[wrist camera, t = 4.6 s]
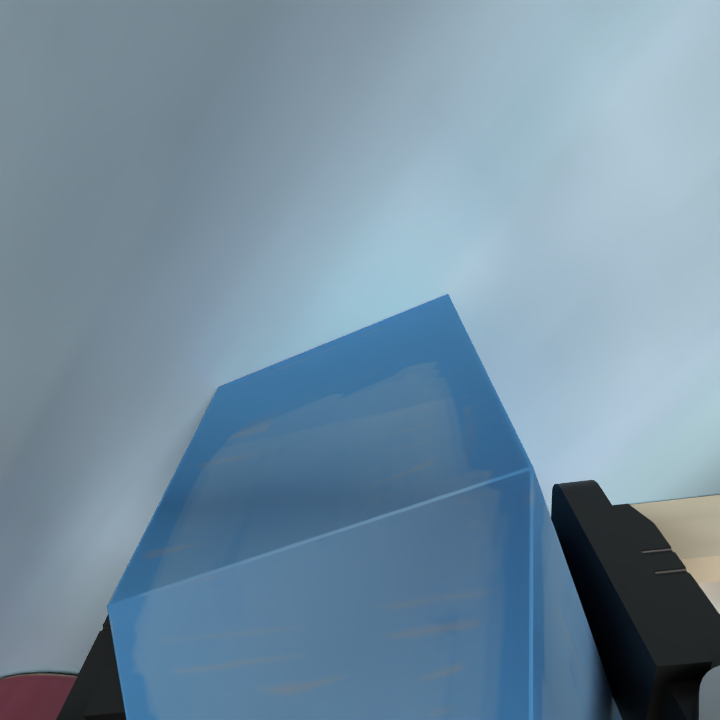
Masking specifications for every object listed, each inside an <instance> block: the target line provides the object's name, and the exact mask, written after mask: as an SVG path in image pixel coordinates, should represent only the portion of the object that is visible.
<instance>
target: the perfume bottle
mask: <svg viewBox="0 0 720 720" xmlns="http://www.w3.org/2000/svg"><path fill="white" fill-rule="evenodd" d="M107 608H108V614H109V620H110V626H111V632H112V637H113V643H114V649H115V655H116V661H117V667H118V673H119V678H120V684H121V690H122V696H123V702H124V708H125V713H126V719H127V720H622V719H621V716H620V713H619V711H618V708H617V706H616V704H615V701H614V699H613V697H612V692H611V687H610V685H609V682H608V679H607V676H606V673H605V670H604V667H603V665H602V662H601V659H600V656H599V653H598V650H597V648H596V645H595V642H594V639H593V636H592V633H591V631H590V628H589V625H588V622H587V619H586V616H585V613H584V611H583V608H582V605H581V602H580V599H579V596H578V594H577V591H576V588H575V585H574V582H573V579H572V576H571V574H570V571H569V568H568V565H567V562H566V559H565V557H564V554H563V551H562V548H561V545H560V542H559V540H558V537H557V534H556V531H555V528H554V525H553V522H552V520H551V517H550V514H549V511H548V508H547V505H546V503H545V500H544V497H543V494H542V491H541V488H540V486H539V483H538V480H537V477H536V474H535V471H534V468H533V466H532V464H531V462H530V460H529V458H528V456H527V454H526V452H525V450H524V448H523V446H522V444H521V442H520V440H519V438H518V436H517V434H516V431H515V429H514V427H513V425H512V423H511V421H510V419H509V417H508V415H507V413H506V411H505V409H504V407H503V405H502V403H501V401H500V399H499V397H498V395H497V393H496V391H495V389H494V387H493V385H492V383H491V381H490V379H489V377H488V375H487V372H486V370H485V368H484V366H483V364H482V362H481V360H480V358H479V356H478V354H477V352H476V350H475V348H474V346H473V344H472V342H471V340H470V338H469V336H468V334H467V332H466V330H465V328H464V326H463V324H462V322H461V320H460V318H459V316H458V313H457V311H456V309H455V307H454V305H453V303H452V301H451V299H450V297H449V295H448V294H447V295H445V296H442V297H440V298H437V299H435V300H432V301H430V302H427V303H425V304H422V305H420V306H417V307H415V308H413V309H410V310H408V311H405V312H403V313H400V314H398V315H395V316H393V317H390V318H388V319H385V320H383V321H380V322H378V323H376V324H373V325H371V326H368V327H366V328H363V329H361V330H358V331H356V332H353V333H351V334H348V335H346V336H343V337H341V338H339V339H336V340H334V341H331V342H329V343H326V344H324V345H321V346H319V347H316V348H314V349H311V350H309V351H306V352H304V353H302V354H299V355H297V356H294V357H292V358H289V359H287V360H284V361H282V362H279V363H277V364H274V365H272V366H269V367H267V368H265V369H262V370H260V371H257V372H255V373H252V374H250V375H247V376H245V377H242V378H240V379H237V380H235V381H232V382H230V383H228V384H225V385H223V386H220V387H218V389H217V391H216V393H215V395H214V397H213V399H212V401H211V403H210V405H209V407H208V409H207V411H206V413H205V415H204V417H203V419H202V421H201V423H200V425H199V427H198V429H197V430H196V432H195V434H194V436H193V438H192V440H191V442H190V444H189V446H188V448H187V450H186V452H185V454H184V456H183V458H182V460H181V462H180V464H179V466H178V468H177V470H176V472H175V474H174V476H173V478H172V480H171V482H170V484H169V486H168V488H167V490H166V491H165V493H164V495H163V497H162V499H161V501H160V503H159V505H158V507H157V509H156V511H155V513H154V515H153V517H152V519H151V521H150V523H149V525H148V527H147V529H146V531H145V533H144V535H143V537H142V539H141V541H140V543H139V545H138V547H137V549H136V551H135V553H134V554H133V556H132V558H131V560H130V562H129V564H128V566H127V568H126V570H125V572H124V574H123V576H122V578H121V580H120V582H119V584H118V586H117V588H116V590H115V592H114V594H113V596H112V598H111V600H110V602H109V604H108V606H107Z"/></svg>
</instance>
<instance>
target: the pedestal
mask: <svg viewBox="0 0 720 720" xmlns="http://www.w3.org/2000/svg"><path fill="white" fill-rule="evenodd" d="M631 506H632V507H633V508H635V509H636V510H637V511H639V512H640V513H641V514H643V515H644V516H645V517H647V518H648V519H649V520H651V521H652V522H653V523H654V524H655V525H656V526H657V528H658V529H659V531H660V532H661V533H662V535H663V536H664V537H665V539H666V540H667V542H668V543H669V544H670V546H671V549H672V551H673V552H675V553H676V554H677V556H678V557H679V558H680V560H681V561H682V562H683V564H684V565H685V567H686V571H687V572H688V573H690V574H691V575H692V576H693V578H694V579H695V581H696V582H697V583H698V585H699V586H700V588H701V589H702V590H703V592H704V593H705V594H706V596H707V597H708V599H709V600H710V601H711V603H712V604H713V606H714V607H715V608H716V610H717V611H718V613H719V614H720V495H713V496H704V497H695V498H686V499H677V500H668V501H659V502H650V503H641V504H632V505H631ZM620 716H621V715H620ZM621 719H622V718H621Z"/></svg>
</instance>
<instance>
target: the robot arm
mask: <svg viewBox="0 0 720 720" xmlns="http://www.w3.org/2000/svg"><path fill="white" fill-rule="evenodd" d="M551 520H552V522H553V525H554V528H555V531H556V534H557V537H558V540H559V542H560V545H561V548H562V551H563V554H564V557H565V559H566V562H567V565H568V568H569V571H570V574H571V576H572V579H573V582H574V585H575V588H576V591H577V594H578V596H579V599H580V602H581V605H582V608H583V611H584V613H585V616H586V619H587V622H588V625H589V628H590V631H591V633H592V636H593V639H594V642H595V645H596V648H597V650H598V653H599V656H600V659H601V662H602V665H603V667H604V670H605V673H606V676H607V679H608V682H609V685H610V687H611V692H612V697H613V699H614V701H615V704H616V706H617V708H618V711H619V713H620V715H621V718H622V720H720V614H719V613H718V611H717V610H716V608H715V607H714V606H713V604H712V603H711V601H710V600H709V599H708V597H707V596H706V594H705V593H704V592H703V590H702V589H701V588H700V586H699V585H698V583H697V582H696V581H695V579H694V578H693V576H692V575H691V574H690V573H688V572H687V571H686V567H685V565H684V564H683V562H682V561H681V560H680V558H679V557H678V556H677V554H676V553H675V552H673V551H672V549H671V546H670V544H669V543H668V542H667V540H666V539H665V537H664V536H663V535H662V533H661V532H660V531H659V529H658V528H657V526H656V525H655V524H654V523H653V522H652V521H651V520H649V519H648V518H647V517H645V516H644V515H643V514H641V513H640V512H639V511H637V510H636V509H635V508H633V507H632V506H631V505H629V504H622V505H613V506H612V505H611V503H610V501H609V500H608V498H607V497H606V495H605V494H604V492H603V491H602V489H601V487H600V486H599V485H598V483H597V482H596V481H594V480H587V481H579V482H570V483H561V484H555V485H554V486H553V490H552V511H551ZM56 720H127V719H126V713H125V708H124V702H123V696H122V690H121V684H120V678H119V673H118V667H117V661H116V655H115V649H114V643H113V637H112V632H111V626H110V620H109V614H108V616H107V618H106V620H105V622H104V624H103V630H102V631H100V632H99V634H98V636H97V638H96V640H95V642H94V644H93V646H92V648H91V650H90V652H89V654H88V656H87V658H86V660H85V662H84V664H83V666H82V668H81V670H80V672H79V674H78V676H77V678H76V680H75V683H74V685H73V687H72V689H71V691H70V693H69V695H68V697H67V699H66V701H65V703H64V705H63V707H62V709H61V711H60V713H59V715H58V716H57V718H56Z"/></svg>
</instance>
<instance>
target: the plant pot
mask: <svg viewBox="0 0 720 720" xmlns="http://www.w3.org/2000/svg"><path fill="white" fill-rule="evenodd" d="M76 678H77V676H73V675H63V674H51V673H36V674H22V675H15V676H10V677H5V678H2V679H0V720H56V718H57V716H58V715H59V713H60V711H61V709H62V707H63V705H64V703H65V701H66V699H67V697H68V695H69V693H70V691H71V689H72V687H73V685H74V683H75V680H76Z"/></svg>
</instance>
